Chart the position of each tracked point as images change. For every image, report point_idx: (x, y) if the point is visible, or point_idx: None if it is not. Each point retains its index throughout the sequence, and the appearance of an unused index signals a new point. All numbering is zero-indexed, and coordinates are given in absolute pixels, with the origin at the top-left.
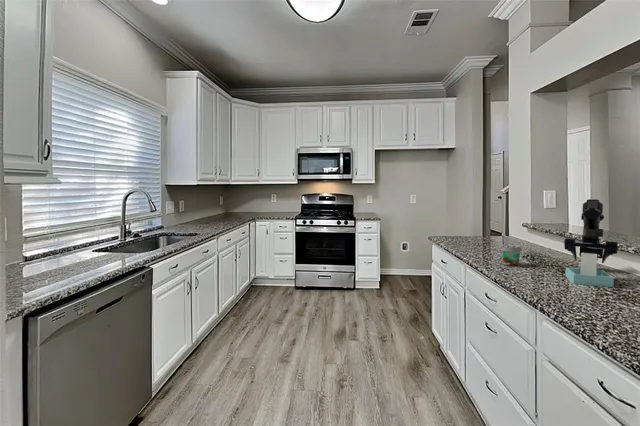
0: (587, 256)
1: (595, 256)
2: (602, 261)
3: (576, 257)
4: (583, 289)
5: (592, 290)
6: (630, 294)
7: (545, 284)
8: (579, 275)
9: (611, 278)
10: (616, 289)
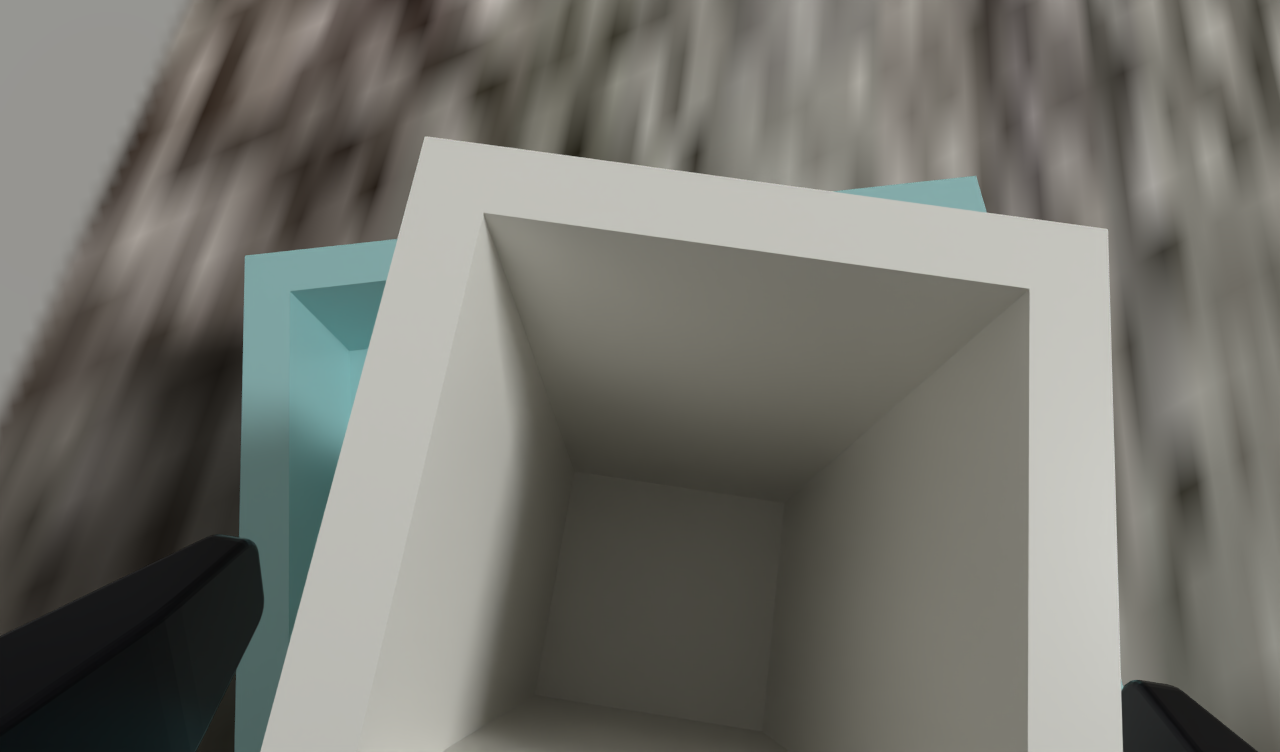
0: (811, 227)
1: (492, 164)
2: (231, 536)
3: (1188, 746)
4: (782, 3)
5: (673, 2)
6: (230, 9)
7: (1276, 49)
8: (870, 190)
9: (299, 263)
10: (327, 198)
